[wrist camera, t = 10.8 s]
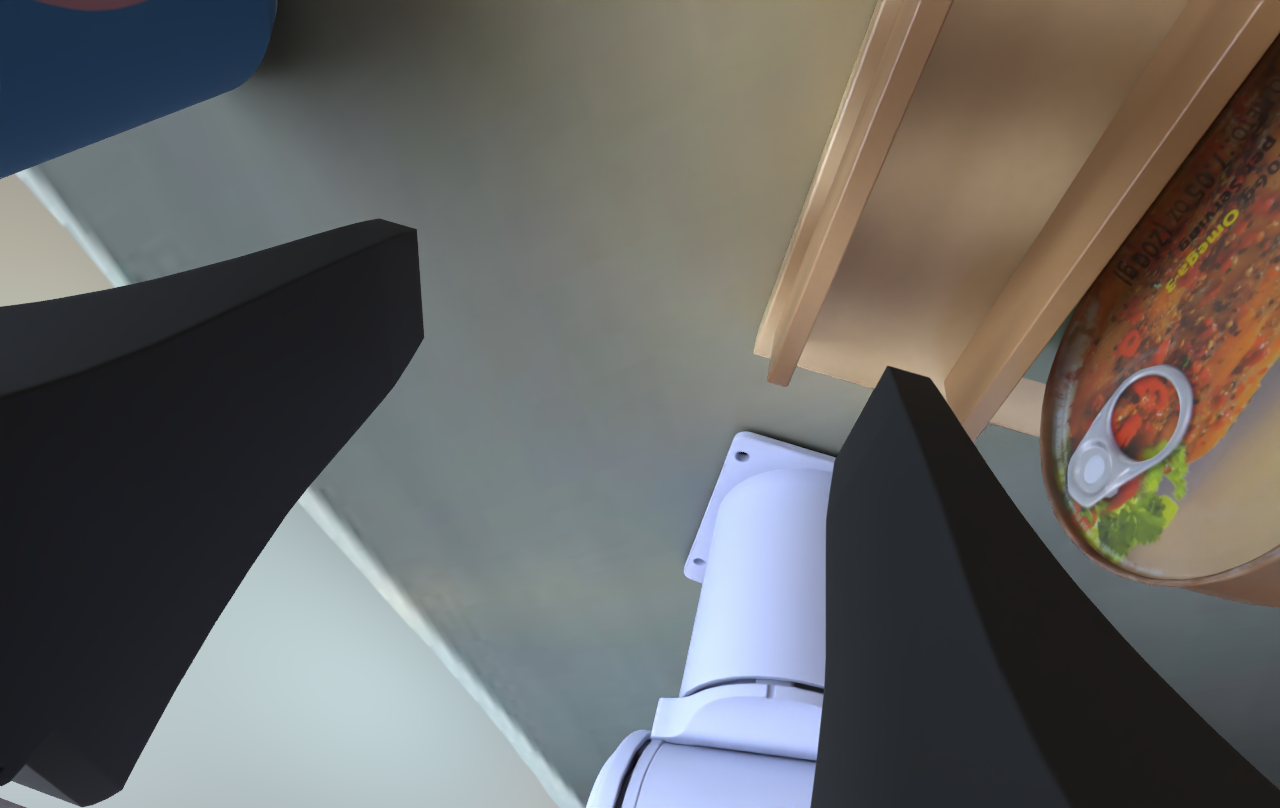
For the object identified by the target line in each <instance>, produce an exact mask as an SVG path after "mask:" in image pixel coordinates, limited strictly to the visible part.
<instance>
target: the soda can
mask: <svg viewBox="0 0 1280 808" xmlns="http://www.w3.org/2000/svg"><path fill="white" fill-rule="evenodd" d="M276 10H277V0H0V179H1V178H4V177H6V176H9V175H12V174H14V173H17V172H20V171H22V170H25V169H27V168H30V167H33V166H35V165H38V164H40V163H43V162H46V161H48V160H51V159H54V158H56V157H59V156H61V155H64V154H67V153H69V152H72V151H74V150H77V149H80V148H82V147H85V146H87V145H90V144H93V143H95V142H98V141H100V140H103V139H106V138H108V137H111V136H113V135H116V134H119V133H121V132H124V131H126V130H129V129H132V128H134V127H137V126H139V125H142V124H145V123H147V122H150V121H152V120H155V119H158V118H160V117H163V116H166V115H168V114H171V113H173V112H176V111H179V110H181V109H184V108H186V107H189V106H192V105H194V104H197V103H199V102H202V101H205V100H207V99H210V98H212V97H215V96H218V95H220V94H223V93H225V92H228V91H231V90H233V89H235V88H237V87H239V86H240V85H242V84H243V83H244V82H246V81H247V80H248V79H249V78H250V77H251V76H252V75H253V73H254V72H255V71H256V70H257V68H258V66H259V65H260V63H261V61H262V59H263V57H264V55H265V53H266V50H267V47H268V44H269V41H270V37H271V33H272V29H273V25H274V21H275V16H276Z"/></svg>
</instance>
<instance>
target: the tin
mask: <svg viewBox="0 0 1280 808" xmlns="http://www.w3.org/2000/svg"><path fill="white" fill-rule="evenodd" d="M1040 455H1041V467H1042V475H1043V481H1044V485H1045V489H1046V492H1047V496H1048V499H1049V501H1050V503H1051V505H1052V509H1053V512H1054V514H1055V516H1056V518H1057V520H1058V522H1059V523H1060V525H1061V526H1062V528H1063V530H1064V531H1065V533H1066V534H1067V535H1068V537H1069V538H1070V539H1071V541H1072V542H1073V543H1074V544H1075V545H1076V546H1077V547H1078V549H1079V550H1080V551H1081V552H1082V553H1083V554H1084V555H1085V556H1086V557H1088V558H1089V559H1090V560H1091V561H1093V562H1094V563H1096V564H1097V565H1099V566H1101V567H1102V568H1104V569H1106V570H1108V571H1110V572H1112V573H1114V574H1116V575H1118V576H1121V577H1123V578H1126V579H1129V580H1132V581H1135V582H1139V583H1144V584H1149V585H1156V586H1167V587H1178V588H1183V589H1187V590H1190V591H1194V592H1198V593H1202V594H1206V595H1210V596H1214V597H1218V598H1223V599H1227V600H1232V601H1236V602H1241V603H1247V604H1252V605H1260V606H1269V607H1278V608H1280V34H1279V35H1278V37H1277V38H1276V39H1275V41H1274V42H1273V43H1272V45H1271V46H1270V47H1269V49H1268V50H1267V51H1266V53H1265V54H1264V56H1263V57H1262V58H1261V60H1260V61H1259V62H1258V64H1257V65H1256V66H1255V67H1254V69H1253V70H1252V71H1251V72H1250V74H1249V75H1248V76H1247V78H1246V79H1245V81H1244V82H1243V84H1242V85H1241V86H1240V88H1239V89H1238V90H1237V91H1236V93H1235V94H1234V96H1233V97H1232V99H1231V100H1230V101H1229V102H1228V104H1227V105H1226V106H1225V107H1224V109H1223V110H1222V112H1221V113H1220V114H1219V116H1218V117H1217V118H1216V120H1215V121H1214V122H1213V123H1212V125H1211V126H1210V128H1209V129H1208V131H1207V132H1206V133H1205V135H1204V136H1203V137H1202V138H1201V140H1200V141H1199V142H1198V144H1197V145H1196V146H1195V148H1194V149H1193V150H1192V152H1191V153H1190V154H1189V156H1188V157H1187V158H1186V160H1185V161H1184V163H1183V164H1182V165H1181V167H1180V168H1179V169H1178V171H1177V172H1176V173H1175V175H1174V176H1173V178H1172V179H1171V180H1170V181H1169V183H1168V184H1167V185H1166V186H1165V188H1164V189H1163V190H1162V191H1161V193H1160V194H1159V195H1158V197H1157V198H1156V199H1155V201H1154V202H1153V203H1152V205H1151V206H1150V207H1149V209H1148V210H1147V211H1146V213H1145V214H1144V215H1143V217H1142V218H1141V220H1140V221H1139V222H1138V224H1137V225H1136V226H1135V227H1134V229H1133V230H1132V231H1131V233H1130V234H1129V235H1128V237H1127V238H1126V239H1125V241H1124V242H1123V243H1122V245H1121V246H1120V247H1119V249H1118V250H1117V251H1116V253H1115V254H1114V255H1113V257H1112V258H1111V259H1110V261H1109V262H1108V263H1107V265H1106V266H1105V268H1104V269H1103V270H1102V272H1101V273H1100V274H1099V276H1098V277H1097V278H1096V280H1095V281H1094V282H1093V284H1092V285H1091V287H1090V288H1089V289H1088V291H1087V292H1086V294H1085V295H1084V297H1083V298H1082V300H1081V302H1080V304H1079V305H1078V307H1077V309H1076V310H1075V312H1074V314H1073V316H1072V318H1071V320H1070V322H1069V324H1068V326H1067V329H1066V331H1065V333H1064V335H1063V337H1062V340H1061V342H1060V344H1059V347H1058V349H1057V352H1056V355H1055V357H1054V360H1053V363H1052V367H1051V370H1050V373H1049V376H1048V380H1047V383H1046V387H1045V393H1044V399H1043V404H1042V412H1041V424H1040Z"/></svg>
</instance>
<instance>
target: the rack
mask: <svg viewBox="0 0 1280 808" xmlns="http://www.w3.org/2000/svg"><path fill="white" fill-rule="evenodd" d="M1279 34H1280V0H878V1H877V4H876V7H875V9H874V12H873V15H872V18H871V20H870V23H869V26H868V29H867V31H866V34H865V37H864V40H863V42H862V45H861V48H860V51H859V53H858V56H857V59H856V62H855V65H854V67H853V70H852V73H851V76H850V78H849V81H848V84H847V87H846V89H845V92H844V95H843V98H842V100H841V103H840V106H839V109H838V111H837V114H836V117H835V120H834V123H833V125H832V128H831V131H830V134H829V136H828V139H827V142H826V145H825V147H824V150H823V153H822V156H821V158H820V161H819V164H818V167H817V169H816V172H815V175H814V178H813V180H812V183H811V186H810V189H809V192H808V194H807V197H806V200H805V203H804V205H803V208H802V211H801V214H800V216H799V219H798V222H797V225H796V227H795V230H794V233H793V236H792V238H791V241H790V244H789V247H788V250H787V252H786V255H785V258H784V261H783V263H782V266H781V269H780V272H779V274H778V277H777V280H776V283H775V285H774V288H773V291H772V294H771V296H770V299H769V302H768V305H767V308H766V310H765V313H764V316H763V319H762V321H761V324H760V327H759V330H758V332H757V337H756V341H755V346H754V354H756V355H759V356H763V357H766V358H770V364H769V370H768V376H767V381H768V382H769V383H773V384H776V385H780V386H783V387H787V386H788V384H789V382H790V380H791V377H792V375H793V373H794V370H795V368H796V366H797V367H800V368H804V369H807V370H811V371H814V372H818V373H821V374H824V375H828V376H831V377H835V378H838V379H842V380H845V381H848V382H852V383H855V384H859V385H862V386H866V387H869V388H872V389H875V387H876V385H877V383H878V382H879V380H880V378H881V376H882V374H883V373H884V371H885V369H886V367H887V365H888V366H891V367H895V368H898V369H902V370H905V371H909V372H912V373H915V374H919V375H922V376H926V377H929V378H931V380H932V381H933V383H934V384H935V385H936V387H937V388H938V390H939V391H940V393H941V394H942V396H943V397H944V399H945V400H946V402H947V403H948V405H949V406H950V408H951V409H952V411H953V412H954V414H955V416H956V417H957V419H958V420H959V422H960V423H961V425H962V426H963V428H964V430H965V431H966V433H967V434H968V436H969V437H970V439H971V440H972V442H974V441H975V440H976V439H977V437H978V436H979V435H980V433H981V432H982V431H983V429H984V428H985V427H986V425H987V424H988V423H992V424H996V425H999V426H1002V427H1006V428H1009V429H1013V430H1016V431H1020V432H1023V433H1026V434H1030V435H1033V436H1037V437H1040V424H1041V412H1042V404H1043V399H1044V393H1045V387H1046V383H1047V380H1048V376H1049V373H1050V370H1051V367H1052V363H1053V360H1054V357H1055V355H1056V352H1057V349H1058V347H1059V344H1060V342H1061V340H1062V337H1063V335H1064V333H1065V331H1066V329H1067V326H1068V324H1069V322H1070V320H1071V318H1072V316H1073V314H1074V312H1075V310H1076V309H1077V307H1078V305H1079V304H1080V302H1081V300H1082V298H1083V297H1084V295H1085V294H1086V292H1087V291H1088V289H1089V288H1090V287H1091V285H1092V284H1093V282H1094V281H1095V280H1096V278H1097V277H1098V276H1099V274H1100V273H1101V272H1102V270H1103V269H1104V268H1105V266H1106V265H1107V263H1108V262H1109V261H1110V259H1111V258H1112V257H1113V255H1114V254H1115V253H1116V251H1117V250H1118V249H1119V247H1120V246H1121V245H1122V243H1123V242H1124V241H1125V239H1126V238H1127V237H1128V235H1129V234H1130V233H1131V231H1132V230H1133V229H1134V227H1135V226H1136V225H1137V224H1138V222H1139V221H1140V220H1141V218H1142V217H1143V215H1144V214H1145V213H1146V211H1147V210H1148V209H1149V207H1150V206H1151V205H1152V203H1153V202H1154V201H1155V199H1156V198H1157V197H1158V195H1159V194H1160V193H1161V191H1162V190H1163V189H1164V188H1165V186H1166V185H1167V184H1168V183H1169V181H1170V180H1171V179H1172V178H1173V176H1174V175H1175V173H1176V172H1177V171H1178V169H1179V168H1180V167H1181V165H1182V164H1183V163H1184V161H1185V160H1186V158H1187V157H1188V156H1189V154H1190V153H1191V152H1192V150H1193V149H1194V148H1195V146H1196V145H1197V144H1198V142H1199V141H1200V140H1201V138H1202V137H1203V136H1204V135H1205V133H1206V132H1207V131H1208V129H1209V128H1210V126H1211V125H1212V123H1213V122H1214V121H1215V120H1216V118H1217V117H1218V116H1219V114H1220V113H1221V112H1222V110H1223V109H1224V107H1225V106H1226V105H1227V104H1228V102H1229V101H1230V100H1231V99H1232V97H1233V96H1234V94H1235V93H1236V91H1237V90H1238V89H1239V88H1240V86H1241V85H1242V84H1243V82H1244V81H1245V79H1246V78H1247V76H1248V75H1249V74H1250V72H1251V71H1252V70H1253V69H1254V67H1255V66H1256V65H1257V64H1258V62H1259V61H1260V60H1261V58H1262V57H1263V56H1264V54H1265V53H1266V51H1267V50H1268V49H1269V47H1270V46H1271V45H1272V43H1273V42H1274V41H1275V39H1276V38H1277V37H1278V35H1279Z"/></svg>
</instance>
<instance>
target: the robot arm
mask: <svg viewBox="0 0 1280 808" xmlns="http://www.w3.org/2000/svg"><path fill="white" fill-rule="evenodd" d="M423 339H424V329H423V314H422V300H421V285H420V270H419V256H418V241H417V229H414V228H410V227H407V226H403V225H400V224H396V223H393V222H390V221H386V220H383V219H374V220H369V221H364V222H359V223H355V224H351V225H347V226H344V227H340V228H336V229H333V230H329V231H326V232H322V233H319V234H316V235H312V236H309V237H306V238H302V239H299V240H296V241H292V242H289V243H285V244H282V245H279V246H275V247H272V248H269V249H265V250H262V251H258V252H255V253H252V254H248V255H245V256H241V257H238V258H234V259H231V260H227V261H223V262H219V263H215V264H211V265H208V266H204V267H200V268H196V269H192V270H188V271H185V272H181V273H177V274H173V275H169V276H165V277H162V278H158V279H153V280H149V281H145V282H140V283H136V284H131V285H127V286H122V287H117V288H113V289H107V290H102V291H97V292H91V293H86V294H80V295H75V296H70V297H64V298H59V299H53V300H47V301H41V302H34V303H26V304H19V305H11V306H4V307H0V786H3V785H5V784H7V783H9V782H10V781H13V782H16V783H19V784H21V785H24V786H27V787H29V788H32V789H35V790H37V791H40V792H43V793H46V794H48V795H51V796H54V797H56V798H59V799H62V800H64V801H67V802H70V803H72V804H75V805H78V806H81V807H85V806H90V805H93V804H96V803H98V802H100V801H103V800H105V799H108V798H109V797H111V796H113V795H114V794H116V793H118V792H119V791H121V790H122V789H123V787H124V785H125V783H126V781H127V779H128V777H129V775H130V773H131V772H132V770H133V768H134V766H135V764H136V762H137V760H138V758H139V756H140V754H141V752H142V751H143V749H144V747H145V745H146V743H147V742H148V740H149V738H150V736H151V734H152V732H153V730H154V729H155V727H156V725H157V723H158V721H159V719H160V718H161V716H162V714H163V712H164V710H165V708H166V707H167V705H168V703H169V701H170V699H171V697H172V696H173V694H174V692H175V690H176V688H177V687H178V685H179V683H180V682H181V679H182V678H183V677H184V675H185V673H186V671H187V670H188V668H189V666H190V665H191V663H192V661H193V659H194V658H195V656H196V655H197V653H198V651H199V649H200V648H201V646H202V644H203V643H204V641H205V639H206V638H207V636H208V634H209V633H210V631H211V629H212V628H213V626H214V624H215V622H216V621H217V619H218V618H219V616H220V615H221V613H222V612H223V610H224V608H225V606H226V605H227V604H228V602H229V601H230V599H231V597H232V596H233V594H234V593H235V591H236V590H237V588H238V586H239V585H240V583H241V582H242V580H243V579H244V577H245V575H246V574H247V572H248V571H249V569H250V568H251V566H252V565H253V563H254V562H255V560H256V559H257V557H258V556H259V554H260V553H261V551H262V550H263V549H264V547H265V546H266V544H267V542H268V541H269V540H270V538H271V537H272V535H273V534H274V532H275V531H276V530H277V528H278V527H279V525H280V524H281V522H282V521H283V519H284V518H285V516H286V515H287V514H288V512H289V511H290V509H291V508H292V507H293V506H294V504H295V503H296V502H297V501H298V499H299V498H300V497H301V496H302V494H303V493H304V492H305V490H306V489H307V488H308V487H309V486H310V484H311V483H312V482H313V481H314V480H315V479H316V478H317V476H318V475H319V474H320V473H321V472H322V471H323V469H324V468H325V467H326V466H327V465H328V464H329V462H330V461H331V460H332V459H333V458H334V457H335V455H336V454H337V453H338V452H339V451H340V450H341V448H342V447H343V446H344V445H345V444H346V443H347V441H348V440H349V439H350V438H351V437H352V436H353V435H354V433H355V432H356V431H357V430H358V429H359V428H360V426H361V425H362V424H363V423H364V422H365V421H366V419H367V418H368V417H369V416H370V415H371V413H372V412H373V411H374V410H375V409H376V408H377V406H378V405H379V404H380V403H381V402H382V400H383V399H384V398H385V397H386V396H387V394H388V393H389V392H390V391H391V389H392V388H393V387H394V386H395V384H396V383H397V381H398V379H399V378H400V376H401V375H402V373H403V372H404V370H405V369H406V367H407V366H408V364H409V362H410V361H411V359H412V357H413V356H414V354H415V352H416V350H417V349H418V347H419V345H420V344H421V342H422V340H423ZM738 452H745V453H747V454H746V455H743V454H740V453H738ZM684 574H685V576H687V577H688V578H689V579H691V580H694V581H697V582H701V583H703V585H702V590H701V595H700V600H699V604H698V609H697V614H696V619H695V623H694V628H693V633H692V638H691V643H690V647H689V652H688V657H687V662H686V667H685V671H684V676H683V681H682V686H681V691H680V695H679V698H660V699H659V703H658V707H657V711H656V716H655V720H654V724H653V728H652V731H648V730H638V731H635V732H632V733H631V734H630V735H628V736H627V737H626V738H625V739H624V740H623V741H622V743H621V744H620V745H619V746H618V748H617V749H616V751H615V752H614V753H613V754H612V755H611V756H610V757H609V759H608V760H607V761H606V763H605V764H604V766H603V768H602V769H601V771H600V773H599V775H598V777H597V779H596V782H595V784H594V786H593V789H592V791H591V794H590V797H589V800H588V803H587V807H586V808H1280V790H1279V789H1278V788H1277V787H1276V786H1275V785H1273V784H1272V783H1271V782H1270V781H1269V780H1268V779H1267V778H1266V777H1264V776H1263V775H1262V774H1261V773H1260V772H1259V771H1258V770H1257V769H1256V768H1255V767H1253V766H1252V765H1251V764H1250V763H1249V762H1248V761H1247V760H1246V759H1245V758H1244V757H1243V756H1242V755H1241V754H1240V753H1239V752H1237V751H1236V750H1235V749H1234V748H1233V747H1232V746H1231V745H1230V744H1229V743H1228V742H1227V741H1226V740H1225V739H1224V738H1222V737H1221V736H1220V735H1219V734H1218V733H1217V732H1216V731H1215V730H1214V729H1213V728H1212V727H1211V726H1210V725H1209V724H1208V723H1207V722H1206V721H1205V720H1204V719H1203V718H1202V717H1201V716H1200V715H1199V714H1198V713H1197V712H1196V711H1195V710H1194V709H1193V708H1192V707H1191V706H1190V705H1189V704H1188V703H1187V702H1186V701H1185V700H1184V699H1183V698H1182V697H1181V696H1180V695H1179V694H1178V693H1177V692H1176V691H1175V690H1174V689H1173V688H1172V687H1171V686H1170V685H1169V684H1168V683H1167V682H1166V681H1165V680H1164V679H1163V678H1162V677H1161V676H1160V675H1159V674H1158V673H1157V672H1156V671H1155V670H1154V669H1153V668H1152V667H1151V666H1150V665H1149V664H1148V663H1147V662H1146V661H1145V660H1144V659H1143V658H1142V657H1141V656H1140V655H1139V654H1138V653H1137V652H1136V650H1135V649H1134V648H1133V647H1132V646H1131V645H1130V644H1129V643H1128V642H1127V641H1126V640H1125V639H1124V638H1123V637H1122V636H1121V634H1120V633H1119V632H1118V631H1117V630H1116V629H1115V628H1114V626H1113V625H1112V624H1111V623H1110V622H1109V621H1108V620H1107V618H1106V617H1105V616H1104V615H1103V614H1102V613H1101V612H1100V611H1099V609H1098V608H1097V607H1096V606H1095V605H1094V604H1093V603H1092V601H1091V600H1090V599H1089V598H1088V597H1087V596H1086V595H1085V594H1084V592H1083V591H1082V590H1081V589H1080V588H1079V587H1078V585H1077V584H1076V583H1075V582H1074V581H1073V579H1072V578H1071V577H1070V576H1069V575H1068V573H1067V572H1066V571H1065V570H1064V568H1063V567H1062V566H1061V565H1060V564H1059V562H1058V561H1057V560H1056V559H1055V557H1054V556H1053V555H1052V553H1051V552H1050V551H1049V549H1048V548H1047V547H1046V545H1045V544H1044V543H1043V542H1042V540H1041V539H1040V538H1039V536H1038V535H1037V534H1036V532H1035V531H1034V530H1033V528H1032V527H1031V526H1030V524H1029V523H1028V522H1027V521H1026V519H1025V518H1024V516H1023V515H1022V514H1021V512H1020V511H1019V510H1018V508H1017V507H1016V505H1015V504H1014V503H1013V501H1012V500H1011V498H1010V497H1009V496H1008V494H1007V493H1006V491H1005V490H1004V488H1003V487H1002V485H1001V484H1000V483H999V481H998V480H997V478H996V477H995V475H994V474H993V472H992V471H991V469H990V468H989V466H988V465H987V463H986V462H985V460H984V459H983V457H982V456H981V454H980V453H979V451H978V450H977V448H976V447H975V445H974V444H973V442H972V440H971V439H970V437H969V436H968V434H967V433H966V431H965V430H964V428H963V426H962V425H961V423H960V422H959V420H958V419H957V417H956V416H955V414H954V412H953V411H952V409H951V408H950V406H949V405H948V403H947V402H946V400H945V399H944V397H943V396H942V394H941V393H940V391H939V390H938V388H937V387H936V385H935V384H934V383H933V381H932V380H931V378H929V377H926V376H922V375H919V374H915V373H912V372H909V371H905V370H902V369H898V368H895V367H891V366H888V365H887V367H886V369H885V371H884V373H883V374H882V376H881V378H880V380H879V382H878V383H877V385H876V387H875V389H874V391H873V392H872V394H871V396H870V398H869V400H868V402H867V403H866V405H865V407H864V409H863V411H862V412H861V414H860V416H859V418H858V420H857V421H856V423H855V425H854V427H853V429H852V430H851V432H850V434H849V436H848V438H847V439H846V441H845V443H844V445H843V447H842V448H841V450H840V452H839V454H838V456H837V458H835V457H832V456H829V455H825V454H822V453H819V452H815V451H812V450H809V449H805V448H802V447H799V446H795V445H792V444H789V443H786V442H782V441H779V440H776V439H772V438H769V437H766V436H762V435H759V434H756V433H752V432H747V431H744V432H740V433H738V434H736V436H735V437H734V439H733V442H732V444H731V447H730V450H729V452H728V455H727V457H726V460H725V463H724V465H723V468H722V470H721V473H720V476H719V478H718V481H717V483H716V486H715V489H714V491H713V494H712V496H711V499H710V502H709V504H708V507H707V509H706V512H705V515H704V517H703V520H702V522H701V525H700V528H699V530H698V533H697V535H696V538H695V541H694V543H693V546H692V548H691V551H690V554H689V556H688V559H687V561H686V564H685V568H684ZM0 808H26V807H23V806H20V805H18V804H15V803H12V802H10V801H7V800H4V799H1V798H0Z"/></svg>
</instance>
